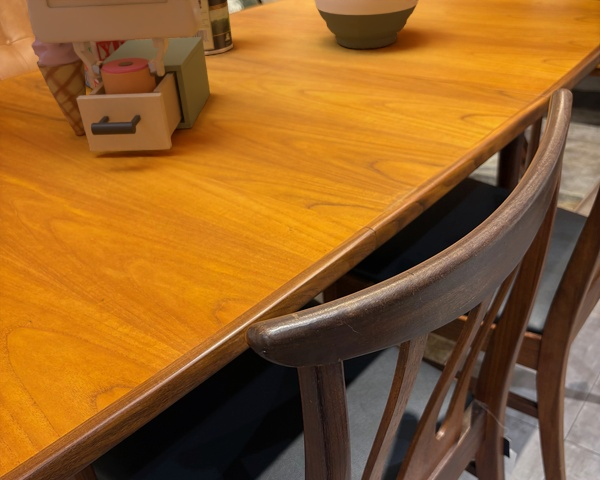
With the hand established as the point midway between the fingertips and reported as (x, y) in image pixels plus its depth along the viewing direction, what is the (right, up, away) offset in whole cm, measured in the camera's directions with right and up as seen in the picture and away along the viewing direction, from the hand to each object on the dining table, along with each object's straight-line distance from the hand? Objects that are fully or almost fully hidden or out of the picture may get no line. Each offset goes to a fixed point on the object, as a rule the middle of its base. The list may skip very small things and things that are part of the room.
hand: (128, 76), depth 77 cm
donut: (0, -1, +1) cm, 2 cm away
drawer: (0, -6, +4) cm, 8 cm away
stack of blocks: (-12, +9, +28) cm, 31 cm away
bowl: (+34, +21, +40) cm, 57 cm away
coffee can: (+3, +21, +42) cm, 47 cm away
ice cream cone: (-9, -5, +9) cm, 14 cm away
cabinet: (+1, 0, +14) cm, 14 cm away
